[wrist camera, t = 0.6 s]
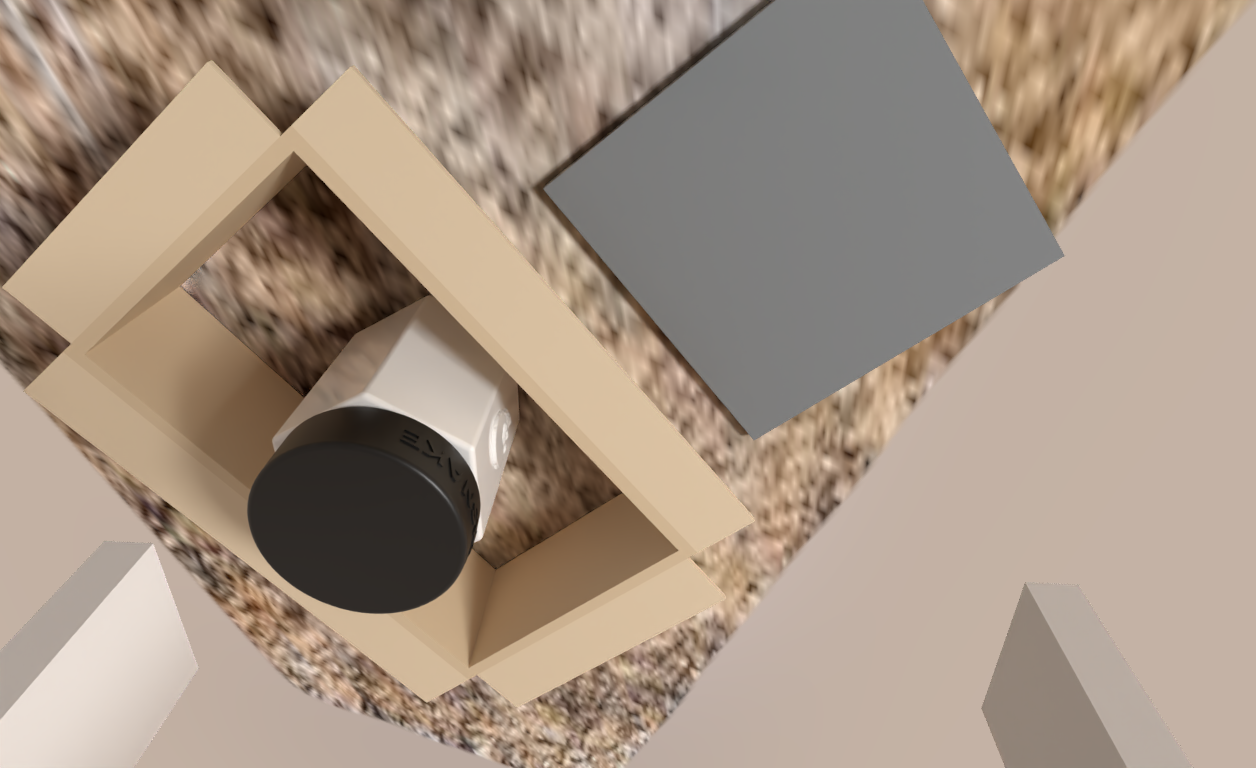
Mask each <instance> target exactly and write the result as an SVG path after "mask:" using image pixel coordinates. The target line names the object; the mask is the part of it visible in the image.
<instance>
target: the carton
mask: <svg viewBox="0 0 1256 768" xmlns="http://www.w3.org/2000/svg"><path fill="white" fill-rule="evenodd" d="M307 165H308V166H309V167H310V168H311V169H312V170H313V171H314V172H315V174H316V175H317V176H318V177H319V178H320V179H321V180H322V181H323V182H324V183H325V184H326V185H327V186H328V187H329V188H330V189H331V190H332V191H333V192H334V193H335V194H336V195H337V196H338V197H339V198H340V199H341V200H342V202H343V203H344V204H345V205H346V206H347V207H348V208H349V209H350V210H351V211H352V212H353V213H354V214H355V215H356V216H357V217H358V218H359V219H360V220H361V221H362V222H363V223H364V224H365V225H366V226H367V227H368V229H369V230H370V231H371V232H372V233H373V234H374V235H375V236H376V237H377V238H378V239H379V240H380V241H381V242H382V243H383V244H384V245H385V246H386V247H387V248H388V249H389V250H390V251H391V252H392V253H393V254H394V256H395V257H396V258H397V259H398V260H399V261H400V262H401V263H402V264H403V265H404V266H405V267H406V268H407V269H408V270H409V271H410V272H411V273H412V274H413V275H414V276H415V277H416V278H417V279H418V280H419V281H420V283H421V284H422V285H423V286H424V287H425V288H426V289H427V290H428V291H429V292H430V293H431V294H432V295H433V296H434V297H435V298H436V299H437V300H438V301H439V302H440V303H441V304H442V305H443V306H444V307H445V308H446V310H447V311H448V312H449V313H450V314H451V315H452V316H453V317H454V318H455V319H456V320H457V321H458V322H459V323H460V324H461V325H462V326H463V327H464V328H465V329H466V330H467V331H468V332H469V333H470V334H471V335H472V337H473V338H474V339H475V340H476V341H477V342H478V343H479V344H480V345H481V346H482V347H483V348H484V349H485V350H486V351H487V352H488V353H489V354H490V355H491V356H492V357H493V358H494V359H495V360H496V361H497V362H498V364H499V365H500V366H501V367H502V368H503V369H504V370H505V371H506V372H507V373H508V374H509V375H510V376H511V377H512V378H513V379H514V380H515V381H516V382H517V383H518V384H519V385H520V386H521V387H522V388H523V389H524V391H525V392H526V393H527V394H528V395H529V396H530V397H531V398H532V399H533V400H534V401H535V402H536V403H537V404H538V405H539V406H540V407H541V408H542V409H543V410H544V411H545V412H546V413H547V414H548V415H549V416H550V417H551V419H552V420H553V421H554V422H555V423H556V424H557V425H558V426H559V427H560V428H561V429H562V430H563V431H564V432H565V433H566V434H567V435H568V436H569V437H570V438H571V439H572V440H573V441H574V442H575V443H576V444H577V446H578V447H579V448H580V449H581V450H582V451H583V452H584V453H585V454H586V455H587V456H588V457H589V458H590V459H591V460H592V461H593V462H594V463H595V464H596V465H597V466H598V467H599V468H600V469H601V470H602V471H603V473H604V474H605V475H606V476H607V477H608V478H609V479H610V480H611V481H612V482H613V483H614V484H615V485H616V486H617V487H618V488H619V489H620V490H621V491H622V492H623V493H621V494H620V495H618V496H616V497H615V498H613V499H612V500H610V501H608V502H607V503H605V504H603V505H602V506H600V507H598V508H597V509H595V510H593V511H592V512H590V513H589V514H587V515H585V516H584V517H582V518H580V519H579V520H577V521H575V522H574V523H572V524H570V525H569V526H567V527H565V528H564V529H562V530H561V531H559V532H557V533H556V534H554V535H552V536H551V537H549V538H547V539H546V540H544V541H542V542H541V543H539V544H538V545H536V546H534V547H533V548H531V549H529V550H528V551H526V552H524V553H523V554H521V555H519V556H518V557H516V558H515V559H513V560H511V561H510V562H508V563H506V564H505V565H503V566H501V567H500V568H498V569H496V570H495V569H494V568H493V567H492V566H491V565H490V564H489V563H487V562H486V561H485V560H484V559H483V558H482V557H481V556H480V555H479V554H477V553H476V552H475V551H474V550H473V549H472V550H471V553H470V555H469V556H468V558H467V561H466V563H465V565H464V567H463V569H462V572H461V573H460V575H459V577H458V578H457V580H456V581H455V582H454V584H453V585H452V586H451V587H450V588H449V589H448V590H447V591H446V592H445V593H444V594H442V595H441V596H440V597H438V598H437V599H435V600H433V601H431V602H430V603H428V604H425V605H423V606H421V607H418V608H415V609H412V610H408V611H404V612H398V613H389V614H369V613H360V612H353V611H349V610H344V609H340V608H337V607H334V606H331V605H328V604H325V603H323V602H320V601H318V600H316V599H314V598H312V597H310V596H308V595H306V594H304V593H303V592H301V591H300V590H298V589H296V588H295V587H293V586H292V585H291V584H289V583H288V582H287V581H286V580H284V579H283V578H282V577H281V576H280V575H279V574H278V573H277V572H276V571H275V570H274V569H273V568H272V567H271V566H270V565H269V564H268V563H267V561H266V560H265V559H264V557H263V556H262V554H261V553H260V551H259V549H258V548H257V546H256V544H255V542H254V539H253V537H252V534H251V531H250V527H249V523H248V516H247V503H248V497H249V493H250V490H251V487H252V485H253V483H254V480H255V479H256V477H257V475H258V474H259V473H260V471H261V470H262V469H263V467H264V466H265V465H266V463H267V462H268V461H269V459H270V458H271V457H272V456H273V454H274V453H275V451H274V447H273V443H272V439H273V437H274V436H275V434H276V433H277V432H278V431H279V429H280V428H281V427H282V426H283V424H284V423H285V422H286V421H287V419H288V418H289V417H290V416H291V414H292V413H293V412H294V411H295V409H296V408H297V407H298V406H299V404H300V403H301V402H302V400H303V399H304V397H302V396H301V395H300V394H299V393H298V392H297V391H296V390H295V389H293V388H292V387H291V386H290V385H289V384H288V383H287V382H286V381H285V380H283V379H282V378H281V377H280V376H279V375H278V374H277V373H276V372H275V371H273V370H272V369H271V368H270V367H269V366H268V365H267V364H266V363H264V362H263V361H262V360H261V359H260V358H259V357H258V356H257V355H256V354H254V353H253V352H252V351H251V350H250V349H249V348H248V347H247V346H246V345H244V344H243V343H242V342H241V341H240V340H239V339H238V338H237V337H236V336H234V335H233V334H232V333H231V332H230V331H229V330H228V329H227V328H225V327H224V326H223V325H222V324H221V323H220V322H219V321H218V320H217V319H215V318H214V317H213V316H212V315H211V314H210V313H209V312H208V311H207V310H205V309H204V308H203V307H202V306H201V305H200V304H199V303H198V302H196V301H195V300H194V299H193V298H192V297H191V296H190V295H189V294H188V293H186V292H185V291H184V290H183V289H182V288H181V287H180V286H181V285H182V284H183V283H184V282H185V281H186V280H187V279H188V278H189V277H190V276H191V275H192V274H193V273H194V272H195V271H197V270H198V269H199V268H200V267H201V266H202V265H203V264H204V263H205V262H206V261H207V260H208V259H209V258H210V257H211V256H212V255H213V254H214V253H215V252H216V251H217V250H219V249H220V248H221V247H222V246H223V245H224V244H225V243H226V242H227V241H228V240H229V239H230V238H231V237H232V236H233V235H234V234H235V233H236V232H237V231H238V230H239V229H241V228H242V227H243V226H244V225H245V224H246V223H247V222H248V221H249V220H250V219H251V218H252V217H253V216H254V215H255V214H256V213H257V212H258V211H259V210H260V209H261V208H263V207H264V206H265V205H266V204H267V203H268V202H269V201H270V200H271V199H272V198H273V197H274V196H275V195H276V194H277V193H278V192H279V191H280V190H281V189H282V188H283V187H285V186H286V185H287V184H288V183H289V182H290V181H291V180H292V179H293V178H294V177H295V176H296V175H297V174H298V173H299V172H300V171H301V170H302V169H303V168H304V167H305V166H307ZM2 288H3V289H5V290H6V291H7V292H8V293H9V294H11V295H12V296H13V297H14V298H16V299H17V300H18V301H19V302H21V303H22V304H23V305H24V306H25V307H27V308H28V309H29V310H30V311H32V312H33V313H34V314H35V315H36V316H38V317H39V318H40V319H41V320H43V321H44V322H45V323H46V324H47V325H49V326H50V327H51V328H52V329H54V330H55V331H56V332H57V333H59V334H60V335H61V336H62V337H63V338H65V339H66V340H67V341H68V342H70V343H71V344H70V345H69V346H68V347H67V348H66V349H65V350H64V351H63V352H62V353H61V354H60V355H59V356H58V357H57V358H56V359H55V360H54V361H53V362H52V363H51V364H50V365H49V366H48V367H47V368H46V369H45V370H44V371H43V372H42V373H41V374H40V375H39V376H38V377H37V378H36V379H35V380H34V381H33V382H32V383H31V384H30V385H29V386H28V387H27V388H26V389H25V390H24V392H25V393H26V394H28V395H29V396H30V397H32V398H33V399H34V400H35V401H37V402H38V403H39V404H41V405H42V406H43V407H45V408H46V409H47V410H48V411H50V412H51V413H52V414H54V415H55V416H56V417H57V418H59V419H60V420H61V421H63V422H64V423H65V424H67V425H68V426H69V427H70V428H72V429H73V430H74V431H76V432H77V433H78V434H80V435H81V436H82V437H83V438H85V439H86V440H87V441H89V442H90V443H91V444H92V445H94V446H95V447H96V448H98V449H99V450H100V451H102V452H103V453H104V454H105V455H107V456H108V457H109V458H111V459H112V460H113V461H114V462H116V463H117V464H118V465H120V466H121V467H122V468H124V469H125V470H126V471H127V472H129V473H130V474H131V475H133V476H134V477H135V478H137V479H138V480H139V481H140V482H142V483H143V484H144V485H146V486H147V487H148V488H149V489H151V490H152V491H153V492H155V493H156V494H157V495H159V496H160V497H161V498H162V499H164V500H165V501H166V502H168V503H169V504H170V505H172V506H173V507H174V508H175V509H177V510H178V511H179V512H181V513H182V514H183V515H184V516H186V517H187V518H188V519H190V520H191V521H192V522H194V523H195V524H196V525H197V526H199V527H200V528H201V529H203V530H204V531H205V532H206V533H208V534H209V535H210V536H212V537H213V538H214V539H216V540H217V541H218V542H219V543H221V544H222V545H223V546H225V547H226V548H227V549H229V550H230V551H231V552H232V553H234V554H235V555H236V556H238V557H239V558H240V559H241V560H243V561H244V562H245V563H247V564H248V565H249V566H251V567H252V568H253V569H254V570H256V571H257V572H258V573H260V574H261V575H262V576H263V577H265V578H266V579H267V580H269V581H270V582H271V583H273V584H274V585H275V586H276V587H278V588H279V589H280V590H282V591H283V592H284V593H286V594H287V595H288V596H289V597H291V598H292V599H293V600H295V601H296V602H297V603H298V604H300V605H301V606H302V607H304V608H305V609H306V610H308V611H309V612H310V613H311V614H313V615H314V616H315V617H317V618H318V619H319V620H321V621H322V622H323V623H324V624H326V625H327V626H328V627H330V628H331V629H332V630H333V631H335V632H336V633H337V634H339V635H340V636H341V637H343V638H344V639H345V640H346V641H348V642H349V643H350V644H352V645H353V646H354V647H355V648H357V649H358V650H359V651H361V652H362V653H363V654H365V655H366V656H367V657H368V658H370V659H371V660H372V661H374V662H375V663H376V664H378V665H379V666H380V667H381V668H383V669H384V670H385V671H387V672H388V673H389V674H390V675H392V676H393V677H394V678H396V679H397V680H398V681H400V682H401V683H402V684H403V685H405V686H406V687H407V688H409V689H410V690H411V691H412V692H414V693H415V694H416V695H418V696H419V697H420V698H422V699H423V700H424V701H425V702H429V701H430V700H432V699H434V698H436V697H438V696H440V695H441V694H443V693H445V692H447V691H449V690H450V689H452V688H454V687H456V686H458V685H459V684H461V683H463V682H465V681H467V680H469V679H470V678H472V677H474V676H476V675H478V676H479V677H480V678H481V679H483V680H484V681H485V682H486V683H487V684H489V685H490V686H491V687H492V688H494V689H495V690H496V691H497V692H498V693H500V694H501V695H502V696H503V697H505V698H506V699H507V700H508V701H509V702H511V703H512V704H513V705H514V706H516V707H519V706H521V705H523V704H525V703H527V702H529V701H531V700H533V699H535V698H537V697H539V696H541V695H542V694H544V693H546V692H548V691H550V690H552V689H554V688H556V687H558V686H560V685H562V684H564V683H566V682H567V681H569V680H571V679H573V678H575V677H577V676H579V675H581V674H583V673H585V672H587V671H589V670H591V669H592V668H594V667H596V666H598V665H600V664H602V663H604V662H606V661H608V660H610V659H612V658H614V657H616V656H617V655H619V654H621V653H623V652H625V651H627V650H629V649H631V648H633V647H635V646H637V645H639V644H641V643H642V642H644V641H646V640H648V639H650V638H652V637H654V636H656V635H658V634H660V633H662V632H664V631H666V630H667V629H669V628H671V627H673V626H675V625H677V624H679V623H681V622H683V621H685V620H687V619H689V618H691V617H692V616H694V615H696V614H698V613H700V612H702V611H704V610H706V609H708V608H710V607H712V606H714V605H716V604H717V603H719V602H721V601H723V600H725V599H726V598H725V594H724V593H723V592H722V591H721V590H720V589H719V588H718V587H717V585H716V584H715V583H714V582H713V581H712V580H711V579H710V578H709V577H708V576H707V575H706V574H705V573H704V572H703V571H702V570H701V569H700V568H699V567H698V566H697V565H696V564H695V563H694V562H693V560H692V559H691V558H690V557H691V556H693V555H695V554H697V553H699V552H700V551H702V550H704V549H706V548H708V547H709V546H711V545H713V544H715V543H717V542H718V541H720V540H722V539H724V538H726V537H728V536H729V535H731V534H733V533H735V532H737V531H738V530H740V529H742V528H744V527H746V526H747V525H749V524H751V523H753V522H755V521H754V517H753V515H752V514H751V513H750V512H749V511H748V510H747V509H746V508H745V506H744V505H743V504H742V503H741V502H740V501H739V500H738V499H737V497H736V496H735V495H734V494H733V493H732V492H731V491H730V490H729V488H728V487H727V486H726V485H725V484H724V483H723V482H722V480H721V479H720V478H719V477H718V476H717V475H716V474H715V473H714V471H713V470H712V469H711V468H710V467H709V466H708V465H707V464H706V462H705V461H704V460H703V459H702V458H701V457H700V456H699V454H698V453H697V452H696V451H695V450H694V449H693V448H692V447H691V445H690V444H689V443H688V442H687V441H686V440H685V439H684V438H683V436H682V435H681V434H680V433H679V432H678V431H677V430H676V429H675V427H674V426H673V425H672V424H671V423H670V422H669V421H668V419H667V418H666V417H665V416H664V415H663V414H662V413H661V412H660V410H659V409H658V408H657V407H656V406H655V405H654V404H653V403H652V401H651V400H650V399H649V398H648V397H647V396H646V395H645V394H644V392H643V391H642V390H641V389H640V388H639V387H638V386H637V384H636V383H635V382H634V381H633V380H632V379H631V378H630V377H629V375H628V374H627V373H626V372H625V371H624V370H623V369H622V368H621V366H620V365H619V364H618V363H617V362H616V361H615V360H614V358H613V357H612V356H611V355H610V354H609V353H608V352H607V351H606V349H605V348H604V347H603V346H602V345H601V344H600V343H599V342H598V340H597V339H596V338H595V337H594V336H593V335H592V334H591V333H590V331H589V330H588V329H587V328H586V327H585V326H584V325H583V323H582V322H581V321H580V320H579V319H578V318H577V317H576V316H575V314H574V313H573V312H572V311H571V310H570V309H569V308H568V307H567V305H566V304H565V303H564V302H563V301H562V300H561V299H560V297H559V296H558V295H557V294H556V293H555V292H554V291H553V290H552V288H551V287H550V286H549V285H548V284H547V283H546V282H545V281H544V279H543V278H542V277H541V276H540V275H539V274H538V273H537V272H536V270H535V269H534V268H533V267H532V266H531V265H530V264H529V262H528V261H527V260H526V259H525V258H524V257H523V256H522V255H521V253H520V252H519V251H518V250H517V249H516V248H515V247H514V246H513V244H512V243H511V242H510V241H509V240H508V239H507V238H506V237H505V235H504V234H503V233H502V232H501V231H500V230H499V229H498V227H497V226H496V225H495V224H494V223H493V222H492V221H491V220H490V218H489V217H488V216H487V215H486V214H485V213H484V212H483V211H482V209H481V208H480V207H479V206H478V205H477V204H476V203H475V201H474V200H473V199H472V198H471V197H470V196H469V195H468V194H467V192H466V191H465V190H464V189H463V188H462V187H461V186H460V185H459V183H458V182H457V181H456V180H455V179H454V178H453V177H452V176H451V174H450V173H449V172H448V171H447V170H446V169H445V168H444V166H443V165H442V164H441V163H440V162H439V161H438V160H437V159H436V157H435V156H434V155H433V154H432V153H431V152H430V151H429V150H428V148H427V147H426V146H425V145H424V144H423V143H422V142H421V141H420V139H419V138H418V137H417V136H416V135H415V134H414V133H413V131H412V130H411V129H410V128H409V127H408V126H407V125H406V124H405V122H404V121H403V120H402V119H401V118H400V117H399V116H398V115H397V113H396V112H395V111H394V110H393V109H392V108H391V107H390V105H389V104H388V103H387V102H386V101H385V100H384V99H383V98H382V96H381V95H380V94H379V93H378V92H377V91H376V90H375V89H374V87H373V86H372V85H371V84H370V83H369V82H368V81H367V80H366V78H365V77H364V76H363V75H362V74H361V73H360V72H359V70H358V69H357V68H356V67H355V66H354V65H353V66H351V67H350V68H349V69H348V70H347V71H346V72H345V73H344V74H343V75H342V76H341V77H340V78H339V79H338V80H337V81H336V82H335V83H334V84H333V85H332V86H331V87H329V88H328V89H327V90H326V91H325V92H324V93H323V94H322V95H321V96H320V97H319V98H318V99H317V100H316V101H315V102H314V103H313V104H312V105H311V106H310V107H309V108H308V109H307V110H306V111H305V112H304V113H303V114H302V115H301V116H300V117H299V118H298V119H297V120H296V121H295V122H294V123H293V124H292V125H291V126H290V127H289V128H288V129H287V130H286V131H285V132H284V133H282V132H281V131H280V130H279V129H278V128H277V127H276V126H275V125H274V124H273V123H272V122H271V121H270V120H269V119H268V118H267V117H266V116H265V115H264V114H263V113H262V111H261V110H260V109H259V108H258V107H257V106H256V105H255V104H254V103H253V102H252V101H251V100H250V99H249V98H248V97H247V96H246V95H245V94H244V93H243V92H242V91H241V90H240V89H239V88H238V86H237V85H236V84H235V83H234V82H233V81H232V80H231V79H230V78H229V77H228V76H227V75H226V74H225V73H224V72H223V71H222V70H221V69H220V68H219V67H218V66H217V65H216V64H215V63H214V61H213V60H212V61H209V62H207V63H206V64H205V65H204V66H203V68H202V69H201V70H200V71H199V72H198V73H197V74H196V75H195V76H194V77H193V79H192V80H191V81H190V82H189V83H188V84H187V85H186V86H185V87H184V88H183V90H182V91H181V92H180V93H179V94H178V95H177V96H176V97H175V98H174V99H173V100H172V102H171V103H170V104H169V105H168V106H167V107H166V108H165V109H164V110H163V111H162V113H161V114H160V115H159V116H158V117H157V118H156V119H155V120H154V121H153V122H152V123H151V125H150V126H149V127H148V128H147V129H146V130H145V131H144V132H143V133H142V134H141V136H140V137H139V138H138V139H137V140H136V141H135V142H134V143H133V144H132V145H131V146H130V148H129V149H128V150H127V151H126V152H125V153H124V154H123V155H122V156H121V157H120V159H119V160H118V161H117V162H116V163H115V164H114V165H113V166H112V167H111V168H110V170H109V171H108V172H107V173H106V174H105V175H104V176H103V177H102V178H101V179H100V180H99V182H98V183H97V184H96V185H95V186H94V187H93V188H92V189H91V190H90V191H89V193H88V194H87V195H86V196H85V197H84V198H83V199H82V200H81V201H80V202H79V203H78V205H77V206H76V207H75V208H74V209H73V210H72V211H71V212H70V213H69V214H68V216H67V217H66V218H65V219H64V220H63V221H62V222H61V223H60V224H59V225H58V226H57V228H56V229H55V230H54V231H53V232H52V233H51V234H50V235H49V236H48V237H47V239H46V240H45V241H44V242H43V243H42V244H41V245H40V246H39V247H38V248H37V249H36V251H35V252H34V253H33V254H32V255H31V256H30V257H29V258H28V259H27V260H26V262H25V263H24V264H23V265H22V266H21V267H20V268H19V269H18V270H17V271H16V273H15V274H14V275H13V276H12V277H11V278H10V279H9V280H8V281H7V282H6V283H5V285H4V286H3V287H2Z"/></svg>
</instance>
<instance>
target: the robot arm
mask: <svg viewBox="0 0 1256 768" xmlns="http://www.w3.org/2000/svg"><path fill="white" fill-rule="evenodd" d="M197 670H198V665H197V662H196V660H195V657H194V654H193V652H192V649H191V646H190V643H189V641H188V638H187V635H186V632H185V629H184V627H183V624H182V621H181V618H180V616H179V613H178V610H177V608H176V605H175V602H174V599H173V597H172V594H171V591H170V588H169V586H168V584H167V580H166V577H165V575H164V572H163V569H162V566H161V564H160V561H159V558H158V555H157V553H156V550H155V547H154V544H153V543H134V542H112V541H104V542H103V543H102V544H101V545H100V546H99V547H98V549H97V550H96V551H95V552H94V553H93V554H92V555H91V556H90V557H89V558H88V559H87V560H86V561H85V562H84V563H83V564H82V565H81V566H80V568H78V570H77V571H76V572H75V573H74V574H73V575H72V576H71V577H70V578H69V579H68V580H67V581H66V582H65V583H64V584H63V585H62V586H61V587H60V589H58V591H57V592H56V593H55V594H54V595H53V596H52V597H51V598H50V599H49V600H48V601H47V602H46V603H45V604H44V605H43V606H42V607H41V608H40V609H39V611H38V612H37V613H36V614H35V615H34V616H33V617H32V618H31V619H30V620H29V621H28V622H27V623H26V624H25V625H24V626H23V627H22V629H20V631H19V632H18V633H17V634H16V635H15V636H14V637H13V638H12V639H11V640H10V641H9V642H8V643H7V644H6V646H4V647H3V648H2V649H1V651H0V768H134V767H135V765H136V763H137V762H138V761H139V759H140V758H141V756H142V755H143V753H144V751H145V750H146V748H147V747H148V745H149V744H150V742H151V741H152V739H153V738H154V736H155V735H156V733H157V732H158V730H159V729H160V727H161V725H162V724H163V722H164V721H165V719H166V718H167V716H168V715H169V713H170V712H171V710H172V709H173V707H174V706H175V704H176V703H177V701H178V699H179V698H180V696H181V695H182V693H183V692H184V690H185V689H186V687H187V686H188V684H189V683H190V681H191V679H192V678H193V677H194V675H195V673H196V672H197ZM982 711H983V713H984V716H985V718H986V721H987V723H988V726H989V728H990V731H991V733H992V736H993V738H994V740H995V743H996V746H997V748H998V750H999V753H1000V755H1001V758H1002V760H1003V763H1004V765H1005V768H1194V767H1193V766H1192V765H1191V763H1190V761H1189V759H1188V758H1187V756H1186V755H1185V753H1184V752H1183V750H1182V748H1181V747H1180V745H1179V744H1178V742H1177V740H1176V739H1175V737H1174V736H1173V734H1172V733H1171V731H1170V729H1169V728H1168V726H1167V725H1166V723H1165V721H1164V720H1163V718H1162V717H1161V715H1160V714H1159V712H1158V711H1157V709H1156V707H1155V706H1154V704H1153V702H1152V701H1151V699H1150V698H1149V696H1148V694H1147V693H1146V692H1145V690H1144V688H1143V686H1142V685H1141V683H1140V682H1139V680H1138V679H1137V677H1136V675H1135V674H1134V672H1133V671H1132V669H1131V667H1130V666H1129V664H1128V663H1127V661H1126V660H1125V658H1124V657H1123V655H1122V653H1121V652H1120V650H1119V648H1118V647H1117V645H1116V644H1115V642H1114V640H1113V639H1112V637H1111V636H1110V634H1109V633H1108V631H1107V630H1106V628H1105V627H1104V625H1103V623H1102V621H1101V620H1100V618H1099V617H1098V615H1097V614H1096V612H1095V610H1094V609H1093V607H1092V606H1091V604H1090V602H1089V601H1088V599H1087V598H1086V596H1085V595H1084V593H1083V591H1082V590H1081V588H1080V587H1079V585H1073V584H1072V585H1071V584H1049V583H1027V582H1025V584H1024V587H1023V590H1022V593H1021V596H1020V599H1019V602H1018V605H1017V608H1016V610H1015V614H1014V616H1013V619H1012V622H1011V625H1010V628H1009V630H1008V633H1007V636H1006V639H1005V642H1004V645H1003V648H1002V651H1001V653H1000V657H999V659H998V662H997V665H996V668H995V671H994V674H993V676H992V679H991V682H990V685H989V688H988V691H987V694H986V697H985V700H984V702H983V705H982Z"/></svg>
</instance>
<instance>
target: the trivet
mask: <svg viewBox="0 0 1256 768" xmlns="http://www.w3.org/2000/svg"><path fill="white" fill-rule="evenodd" d="M543 190H544V191H545V192H546V193H547V194H548V195H549V197H550V198H551V199H552V200H553V201H554V203H555V204H556V205H557V206H558V207H559V209H560V210H561V211H562V212H563V213H564V215H565V216H566V217H567V218H568V219H569V221H570V222H571V223H572V224H573V225H574V226H575V228H576V229H577V230H578V231H579V232H580V234H581V235H582V236H583V237H584V238H585V240H586V241H587V242H588V243H589V244H590V246H591V247H592V248H593V249H594V250H595V252H596V253H597V254H598V255H599V256H600V257H601V259H602V260H603V261H604V262H605V263H606V265H607V266H608V267H609V268H610V269H611V271H612V272H613V273H614V274H615V275H616V277H617V278H618V279H619V280H620V281H621V282H622V284H623V285H624V286H625V287H626V288H627V290H628V291H629V292H630V293H631V294H632V296H633V297H634V298H635V299H636V300H637V302H638V303H639V304H640V305H641V306H642V308H643V309H644V310H645V311H646V312H647V313H648V315H649V316H650V317H651V318H652V319H653V321H654V322H655V323H656V324H657V325H658V327H659V328H660V329H661V330H662V331H663V333H664V334H665V335H666V336H667V337H668V339H669V340H670V341H671V342H672V343H673V344H674V346H675V347H676V348H677V349H678V350H679V352H680V353H681V354H682V355H683V356H684V358H685V359H686V360H687V361H688V362H689V364H690V365H691V366H692V367H693V368H694V370H695V371H696V372H697V373H698V374H699V375H700V377H701V378H702V379H703V380H704V381H705V383H706V384H707V385H708V386H709V387H710V389H711V390H712V391H713V392H714V393H715V395H716V396H717V397H718V398H719V399H720V401H721V402H722V403H723V404H724V405H725V406H726V408H727V409H728V410H729V411H730V412H731V414H732V415H733V416H734V417H735V418H736V420H737V421H738V422H739V423H740V424H741V426H742V427H743V428H744V429H745V430H746V432H747V433H748V434H749V435H750V436H751V437H752V439H753V440H755V439H757V438H759V437H760V436H762V435H764V434H766V433H767V432H769V431H771V430H772V429H774V428H776V427H777V426H779V425H781V424H782V423H784V422H786V421H787V420H789V419H791V418H792V417H794V416H796V415H798V414H799V413H801V412H803V411H804V410H806V409H808V408H809V407H811V406H813V405H814V404H816V403H818V402H819V401H821V400H823V399H824V398H826V397H828V396H829V395H831V394H833V393H835V392H836V391H838V390H840V389H841V388H843V387H845V386H846V385H848V384H850V383H851V382H853V381H855V380H856V379H858V378H860V377H861V376H863V375H865V374H867V373H868V372H870V371H872V370H873V369H875V368H877V367H878V366H880V365H882V364H883V363H885V362H887V361H888V360H890V359H892V358H893V357H895V356H897V355H899V354H900V353H902V352H904V351H905V350H907V349H909V348H910V347H912V346H914V345H915V344H917V343H919V342H920V341H922V340H924V339H925V338H927V337H929V336H930V335H932V334H934V333H936V332H937V331H939V330H941V329H942V328H944V327H946V326H947V325H949V324H951V323H952V322H954V321H956V320H957V319H959V318H961V317H962V316H964V315H966V314H968V313H969V312H971V311H973V310H974V309H976V308H978V307H979V306H981V305H983V304H984V303H986V302H988V301H989V300H991V299H993V298H994V297H996V296H998V295H1000V294H1001V293H1003V292H1005V291H1006V290H1008V289H1010V288H1011V287H1013V286H1015V285H1016V284H1018V283H1020V282H1021V281H1023V280H1025V279H1026V278H1028V277H1030V276H1032V275H1033V274H1035V273H1037V272H1038V271H1040V270H1042V269H1043V268H1045V267H1047V266H1048V265H1050V264H1052V263H1053V262H1055V261H1057V260H1058V259H1060V258H1062V257H1063V256H1064V254H1063V252H1062V250H1061V248H1060V247H1059V245H1058V243H1057V241H1056V239H1055V238H1054V236H1053V234H1052V232H1051V230H1050V229H1049V227H1048V225H1047V223H1046V221H1045V220H1044V218H1043V216H1042V214H1041V212H1040V211H1039V209H1038V207H1037V205H1036V203H1035V202H1034V200H1033V198H1032V196H1031V194H1030V193H1029V191H1028V189H1027V187H1026V185H1025V184H1024V182H1023V180H1022V178H1021V176H1020V175H1019V173H1018V171H1017V169H1016V167H1015V166H1014V164H1013V162H1012V160H1011V158H1010V157H1009V155H1008V153H1007V151H1006V149H1005V148H1004V146H1003V144H1002V142H1001V140H1000V139H999V137H998V135H997V133H996V131H995V130H994V128H993V126H992V124H991V122H990V121H989V119H988V117H987V115H986V113H985V112H984V110H983V108H982V106H981V104H980V103H979V101H978V99H977V97H976V95H975V94H974V92H973V90H972V88H971V86H970V85H969V83H968V81H967V79H966V77H965V76H964V74H963V72H962V70H961V68H960V67H959V65H958V63H957V61H956V59H955V58H954V56H953V54H952V52H951V50H950V49H949V47H948V45H947V43H946V41H945V40H944V38H943V36H942V34H941V32H940V31H939V29H938V27H937V25H936V23H935V22H934V20H933V18H932V16H931V15H930V13H929V11H928V9H927V7H926V6H925V4H924V2H923V0H772V1H771V2H770V3H768V4H767V5H766V6H765V7H764V8H762V9H761V10H760V11H759V12H757V13H756V14H755V15H754V16H752V17H751V18H750V19H749V20H748V21H746V22H745V23H744V24H743V25H741V26H740V27H739V28H738V29H736V30H735V31H734V32H733V33H732V34H730V35H729V36H728V37H727V38H725V39H724V40H723V41H722V42H720V43H719V44H718V45H717V46H716V47H714V48H713V49H712V50H711V51H709V52H708V53H707V54H706V55H704V56H703V57H702V58H701V59H700V60H698V61H697V62H696V63H695V64H693V65H692V66H691V67H690V68H688V69H687V70H686V71H685V72H684V73H682V74H681V75H680V76H679V77H677V78H676V79H675V80H674V81H672V82H671V83H670V84H669V85H668V86H666V87H665V88H664V89H663V90H661V91H660V92H659V93H658V94H656V95H655V96H654V97H653V98H652V99H650V100H649V101H648V102H647V103H645V104H644V105H643V106H642V107H640V108H639V109H638V110H637V111H636V112H634V113H633V114H632V115H631V116H629V117H628V118H627V119H626V120H624V121H623V122H622V123H621V124H620V125H618V126H617V127H616V128H615V129H613V130H612V131H611V132H610V133H608V134H607V135H606V136H605V137H604V138H602V139H601V140H600V141H599V142H597V143H596V144H595V145H594V146H592V147H591V148H590V149H589V150H588V151H586V152H585V153H584V154H583V155H581V156H580V157H579V158H578V159H576V160H575V161H574V162H573V163H572V164H570V165H569V166H568V167H567V168H565V169H564V170H563V171H562V172H560V173H559V174H558V175H557V176H556V177H554V178H553V179H552V180H551V181H549V182H548V183H547V184H546V185H545V186H544V188H543Z"/></svg>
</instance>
